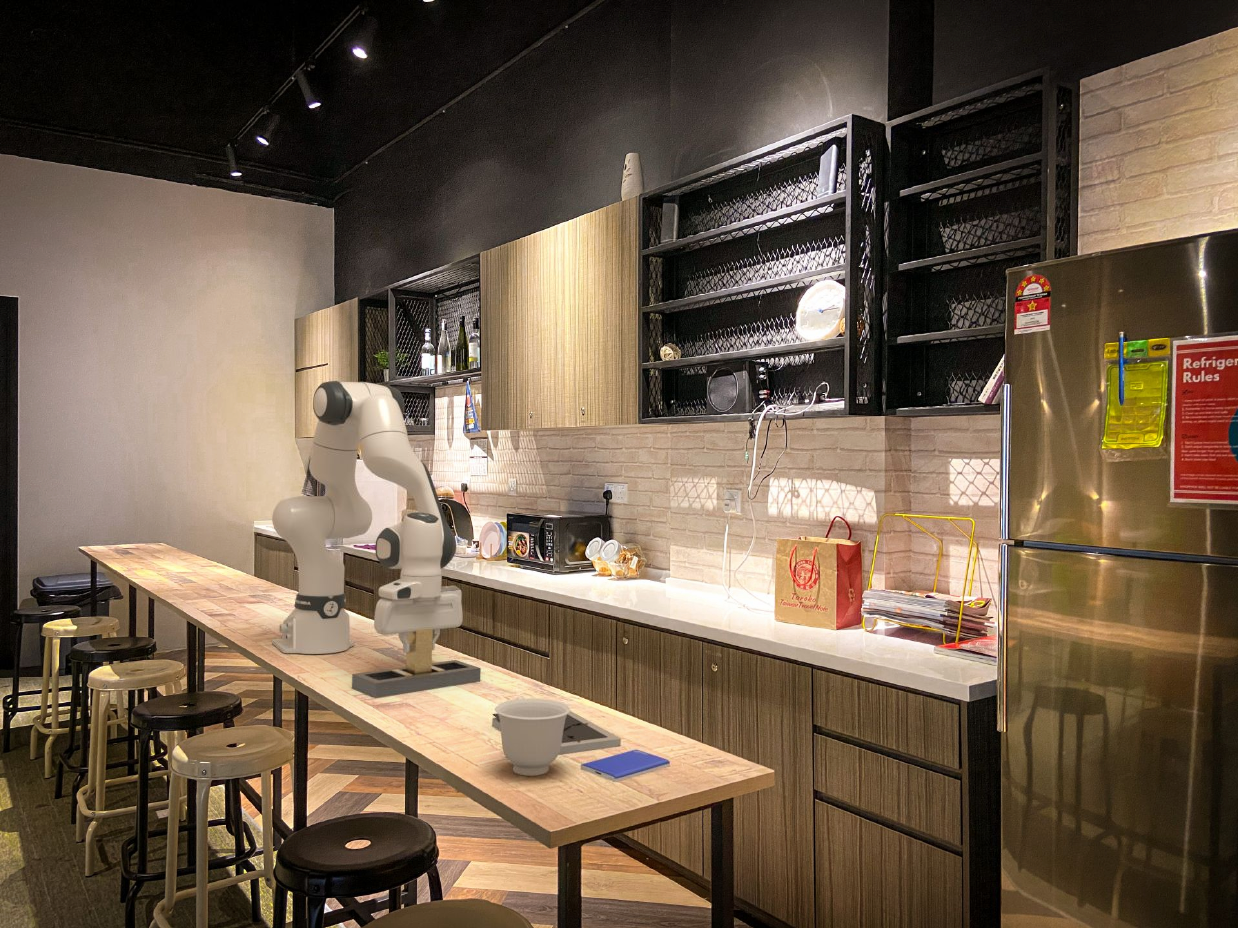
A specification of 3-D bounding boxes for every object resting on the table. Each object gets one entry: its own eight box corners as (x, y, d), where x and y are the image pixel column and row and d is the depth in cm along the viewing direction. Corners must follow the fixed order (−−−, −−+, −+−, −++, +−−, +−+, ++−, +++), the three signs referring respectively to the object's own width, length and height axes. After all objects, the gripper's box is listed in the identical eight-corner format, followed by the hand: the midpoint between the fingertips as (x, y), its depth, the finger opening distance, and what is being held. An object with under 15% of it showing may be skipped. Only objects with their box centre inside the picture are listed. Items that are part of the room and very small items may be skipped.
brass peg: (405, 673, 204) (407, 628, 204) (421, 671, 206) (423, 626, 206) (414, 677, 201) (416, 630, 201) (431, 675, 203) (432, 629, 203)
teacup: (550, 750, 160) (552, 692, 160) (578, 778, 146) (580, 714, 146) (481, 756, 155) (483, 696, 155) (503, 786, 141) (505, 720, 141)
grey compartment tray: (351, 687, 199) (352, 672, 199) (454, 672, 216) (455, 658, 216) (375, 697, 191) (375, 682, 191) (480, 681, 208) (480, 666, 208)
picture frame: (492, 728, 174) (538, 761, 156) (492, 713, 174) (539, 744, 156) (567, 720, 182) (620, 750, 163) (568, 705, 182) (621, 734, 163)
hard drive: (634, 748, 159) (580, 762, 151) (670, 759, 153) (615, 775, 145) (634, 757, 159) (580, 772, 151) (669, 769, 153) (615, 785, 145)
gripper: (453, 583, 213) (452, 643, 213) (371, 589, 199) (369, 653, 199) (469, 586, 208) (467, 648, 208) (386, 592, 194) (384, 658, 194)
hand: (418, 651), depth 204 cm, fingers closed on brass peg, 4 cm apart
